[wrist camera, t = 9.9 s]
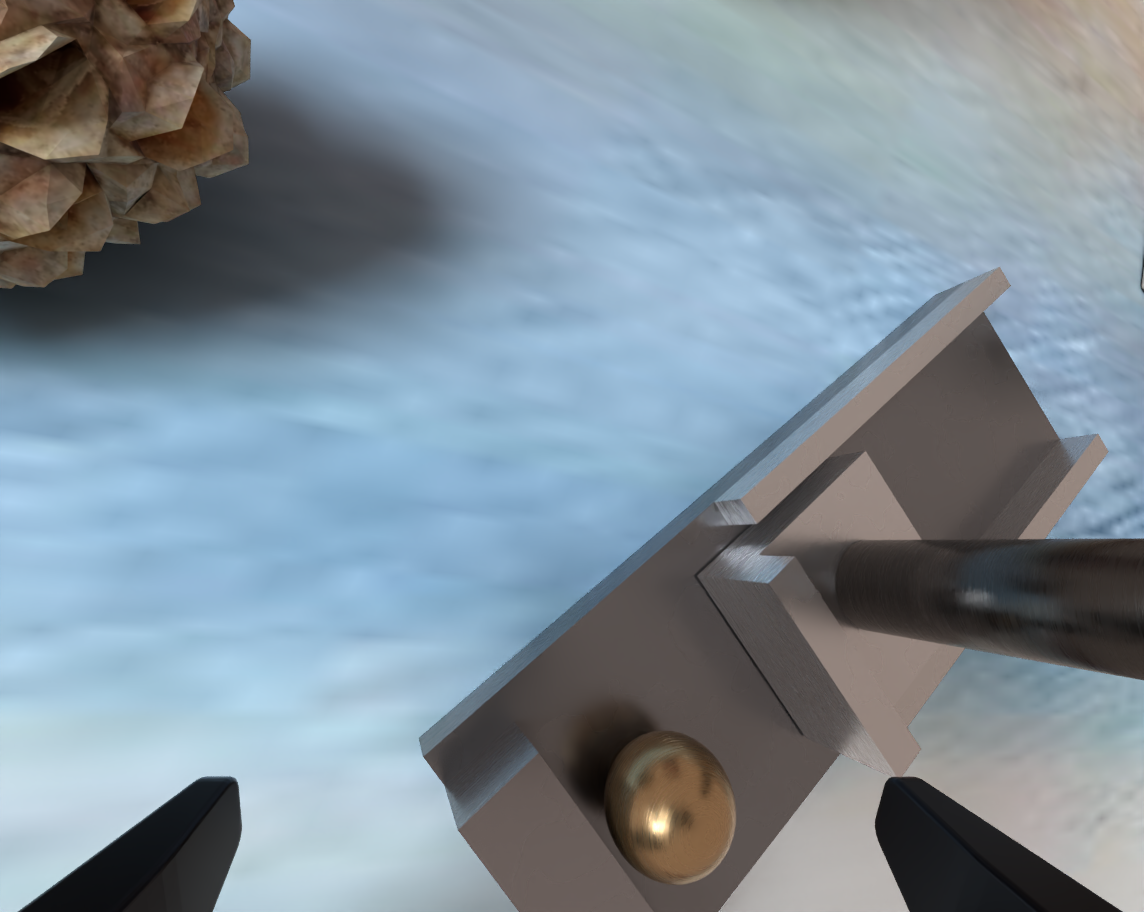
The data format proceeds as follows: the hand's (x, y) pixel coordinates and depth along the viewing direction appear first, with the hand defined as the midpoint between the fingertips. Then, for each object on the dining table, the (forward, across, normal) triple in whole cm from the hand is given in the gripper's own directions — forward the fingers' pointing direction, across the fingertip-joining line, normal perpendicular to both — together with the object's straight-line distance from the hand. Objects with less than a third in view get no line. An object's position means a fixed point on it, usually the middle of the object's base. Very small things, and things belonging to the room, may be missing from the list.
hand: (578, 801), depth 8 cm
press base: (+13, -11, +2) cm, 17 cm away
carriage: (+11, -10, +3) cm, 15 cm away
